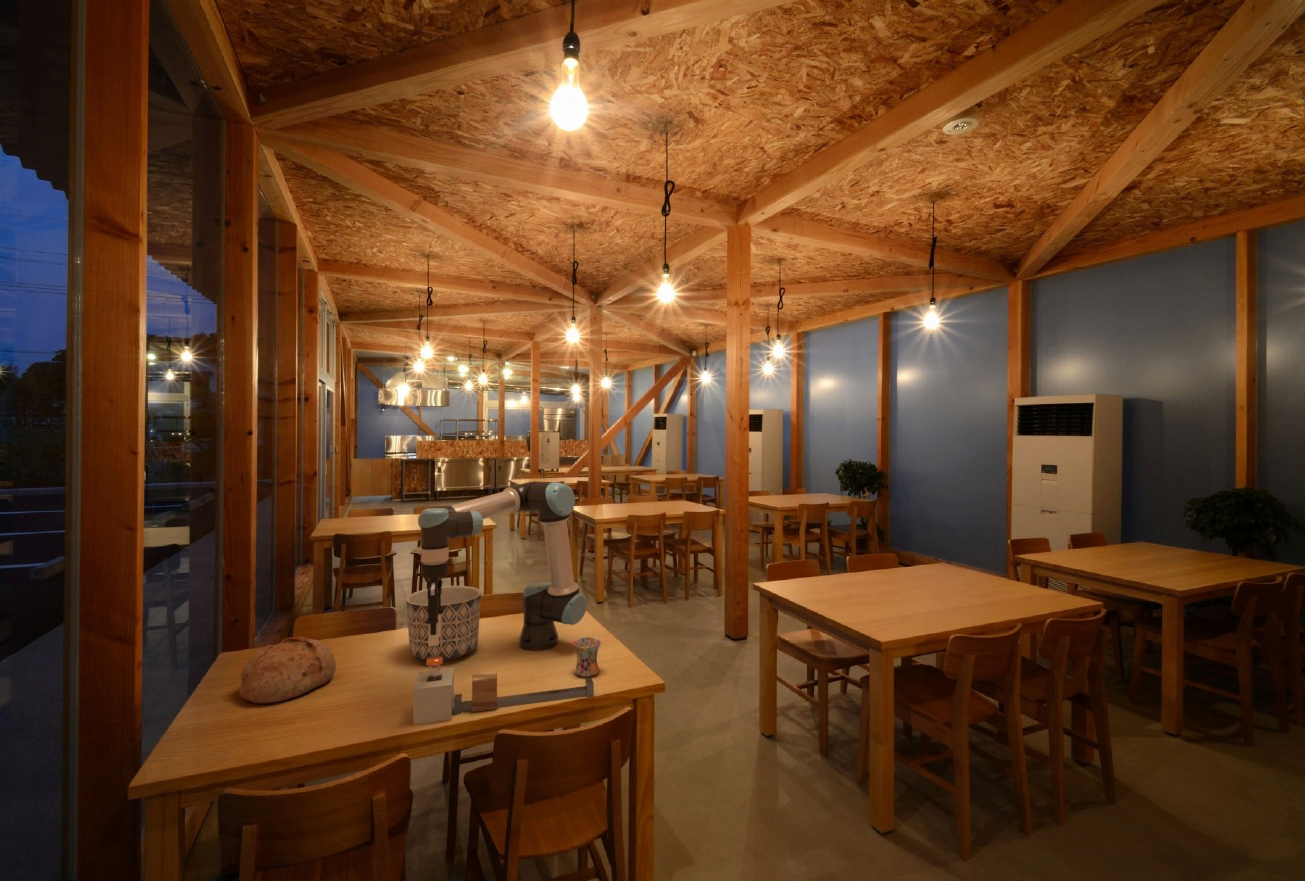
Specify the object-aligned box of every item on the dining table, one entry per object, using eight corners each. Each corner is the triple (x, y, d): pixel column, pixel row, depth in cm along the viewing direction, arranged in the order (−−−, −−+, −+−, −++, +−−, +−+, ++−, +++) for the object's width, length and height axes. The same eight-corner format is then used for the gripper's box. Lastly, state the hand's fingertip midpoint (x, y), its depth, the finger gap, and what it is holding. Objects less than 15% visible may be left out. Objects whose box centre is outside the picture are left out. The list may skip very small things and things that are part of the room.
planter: (480, 638, 222) (480, 583, 222) (481, 663, 197) (481, 601, 197) (409, 645, 214) (409, 588, 214) (402, 672, 189) (402, 608, 189)
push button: (427, 678, 163) (427, 656, 163) (443, 676, 164) (443, 655, 164) (425, 684, 159) (425, 662, 159) (442, 682, 160) (442, 660, 160)
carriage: (472, 704, 166) (472, 673, 166) (496, 700, 168) (496, 671, 168) (472, 711, 161) (472, 680, 161) (497, 708, 163) (497, 677, 163)
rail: (454, 708, 164) (454, 694, 164) (591, 690, 176) (591, 677, 176) (453, 714, 160) (453, 700, 160) (593, 696, 172) (593, 683, 172)
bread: (272, 712, 161) (272, 661, 161) (220, 699, 170) (220, 650, 170) (350, 676, 186) (350, 632, 186) (302, 666, 195) (302, 623, 194)
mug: (603, 676, 186) (603, 645, 186) (576, 680, 183) (576, 648, 183) (595, 663, 197) (595, 633, 197) (569, 666, 194) (569, 636, 194)
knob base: (418, 705, 166) (418, 671, 166) (453, 700, 169) (453, 668, 169) (413, 724, 155) (413, 689, 154) (451, 719, 157) (451, 684, 157)
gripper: (424, 556, 170) (424, 631, 170) (416, 570, 151) (416, 654, 151) (450, 554, 172) (450, 629, 172) (445, 568, 153) (445, 651, 154)
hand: (434, 640), depth 162 cm, fingers open, 6 cm apart
